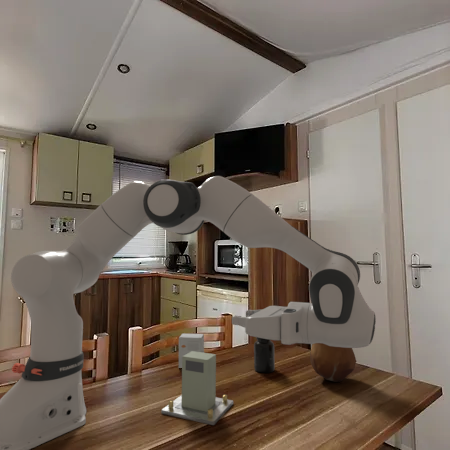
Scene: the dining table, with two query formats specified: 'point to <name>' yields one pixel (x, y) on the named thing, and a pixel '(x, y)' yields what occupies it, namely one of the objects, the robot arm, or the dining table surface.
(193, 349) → the small box
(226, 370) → the dining table surface
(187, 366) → the block
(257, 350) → the supplement bottle
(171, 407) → the plate
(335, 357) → the butternut squash
